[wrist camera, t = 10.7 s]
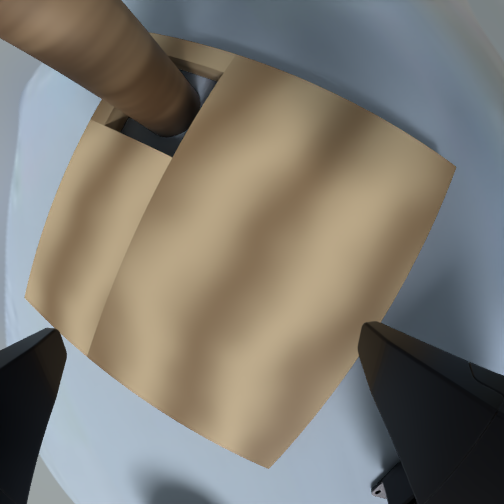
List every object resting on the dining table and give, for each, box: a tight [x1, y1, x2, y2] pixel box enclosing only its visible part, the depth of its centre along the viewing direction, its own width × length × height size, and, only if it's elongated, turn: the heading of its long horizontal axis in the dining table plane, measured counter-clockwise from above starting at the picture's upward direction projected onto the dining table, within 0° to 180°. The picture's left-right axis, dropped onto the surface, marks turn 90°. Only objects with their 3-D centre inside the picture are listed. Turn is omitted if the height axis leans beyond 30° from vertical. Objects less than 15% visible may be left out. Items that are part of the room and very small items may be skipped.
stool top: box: [25, 32, 456, 469], centre depth 18 cm, size 22×22×2 cm
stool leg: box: [0, 0, 200, 137], centre depth 11 cm, size 4×4×15 cm
